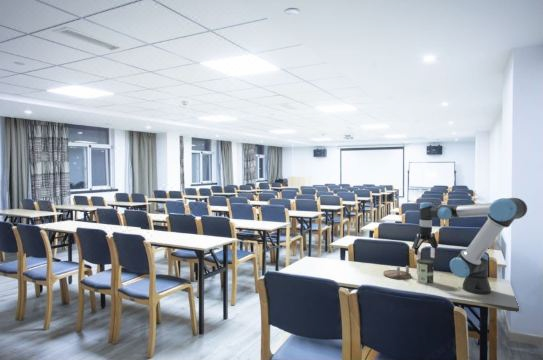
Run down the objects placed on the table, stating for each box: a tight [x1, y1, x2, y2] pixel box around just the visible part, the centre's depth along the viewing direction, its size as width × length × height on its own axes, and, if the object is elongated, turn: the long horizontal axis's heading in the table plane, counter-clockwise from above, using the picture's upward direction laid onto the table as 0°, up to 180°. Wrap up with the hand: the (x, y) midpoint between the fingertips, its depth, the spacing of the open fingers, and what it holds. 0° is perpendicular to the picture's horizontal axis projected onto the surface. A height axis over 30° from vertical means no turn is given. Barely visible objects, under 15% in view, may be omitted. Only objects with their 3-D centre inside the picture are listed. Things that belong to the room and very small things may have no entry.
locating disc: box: [382, 265, 412, 281], centre depth 253 cm, size 18×18×8 cm
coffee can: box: [416, 258, 435, 286], centre depth 238 cm, size 10×10×14 cm
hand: (424, 258), depth 238 cm, fingers open, 13 cm apart
